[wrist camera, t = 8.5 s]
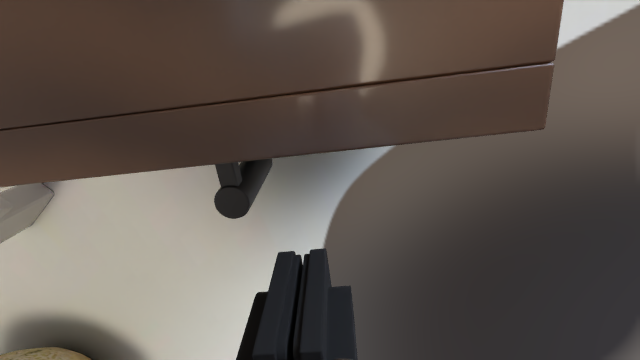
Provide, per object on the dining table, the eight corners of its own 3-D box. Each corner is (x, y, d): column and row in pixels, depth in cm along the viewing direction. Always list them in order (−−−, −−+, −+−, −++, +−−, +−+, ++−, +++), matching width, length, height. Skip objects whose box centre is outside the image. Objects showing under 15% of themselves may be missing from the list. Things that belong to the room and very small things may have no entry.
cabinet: (101, -60, 17) (-270, -235, 7) (432, -117, 16) (633, -459, 5) (157, 119, 21) (-23, 190, 10) (430, 86, 19) (546, 130, 9)
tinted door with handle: (163, 107, 19) (33, 151, 11) (296, 90, 18) (266, 124, 10) (181, 165, 21) (77, 243, 12) (305, 151, 20) (284, 224, 12)
